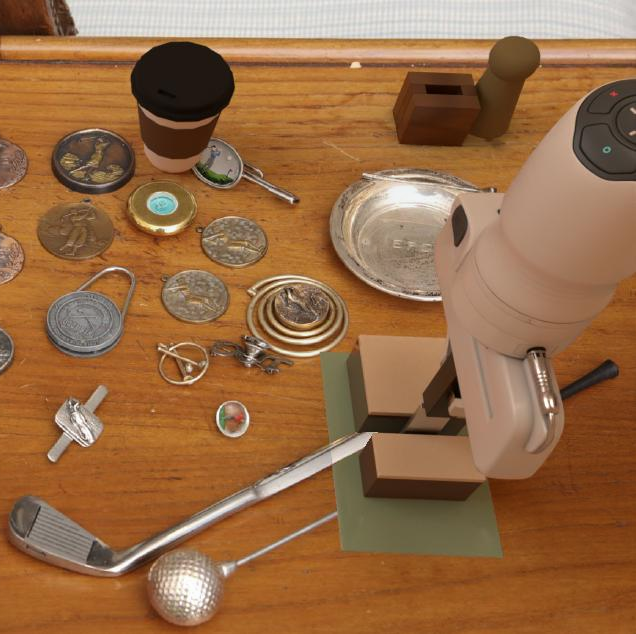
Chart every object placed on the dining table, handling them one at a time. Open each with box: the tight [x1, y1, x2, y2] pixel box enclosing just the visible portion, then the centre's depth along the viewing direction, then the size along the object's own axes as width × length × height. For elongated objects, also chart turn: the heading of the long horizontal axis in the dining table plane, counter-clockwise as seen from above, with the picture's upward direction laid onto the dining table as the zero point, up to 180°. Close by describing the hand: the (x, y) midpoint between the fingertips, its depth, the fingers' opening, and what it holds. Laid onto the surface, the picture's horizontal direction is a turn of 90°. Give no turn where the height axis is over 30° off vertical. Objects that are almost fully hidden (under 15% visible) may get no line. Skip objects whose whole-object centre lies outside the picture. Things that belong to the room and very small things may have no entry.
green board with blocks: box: [319, 334, 505, 559], centre depth 83 cm, size 14×20×6 cm
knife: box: [399, 352, 460, 435], centre depth 76 cm, size 3×2×16 cm
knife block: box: [392, 70, 481, 147], centre depth 105 cm, size 7×6×6 cm
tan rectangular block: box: [359, 433, 486, 501], centre depth 81 cm, size 9×4×5 cm, turn 88°
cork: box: [468, 35, 542, 139], centre depth 103 cm, size 6×6×11 cm
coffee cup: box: [129, 40, 236, 174], centre depth 100 cm, size 11×11×12 cm
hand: (453, 388), depth 74 cm, fingers closed on knife, 2 cm apart
